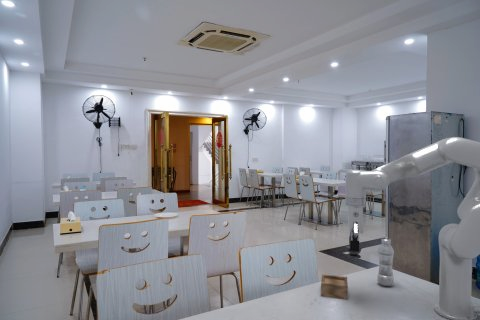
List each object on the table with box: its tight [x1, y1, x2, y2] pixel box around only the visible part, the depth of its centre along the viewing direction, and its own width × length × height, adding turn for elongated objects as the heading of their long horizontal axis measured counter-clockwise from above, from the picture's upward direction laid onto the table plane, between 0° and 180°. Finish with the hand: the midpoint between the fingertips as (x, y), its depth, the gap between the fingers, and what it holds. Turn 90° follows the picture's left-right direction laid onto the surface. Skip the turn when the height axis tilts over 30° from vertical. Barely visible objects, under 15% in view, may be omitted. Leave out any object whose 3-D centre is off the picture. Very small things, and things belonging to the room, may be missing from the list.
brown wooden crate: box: [320, 273, 349, 301], centre depth 132 cm, size 10×10×5 cm
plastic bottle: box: [377, 237, 395, 287], centre depth 140 cm, size 6×7×20 cm
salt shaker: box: [345, 231, 363, 259], centre depth 126 cm, size 6×6×12 cm
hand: (353, 248), depth 126 cm, fingers closed on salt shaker, 5 cm apart
